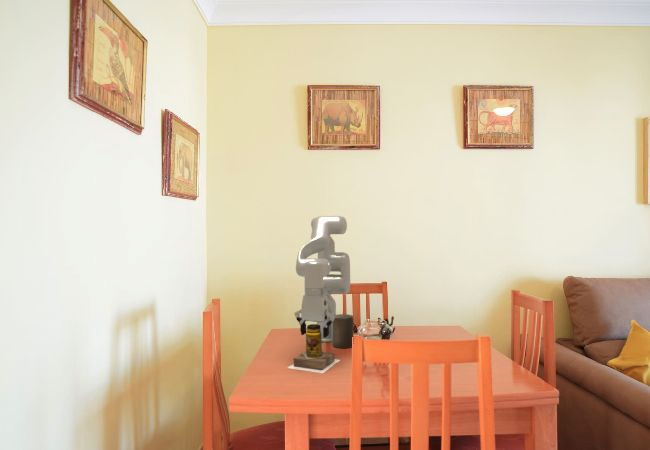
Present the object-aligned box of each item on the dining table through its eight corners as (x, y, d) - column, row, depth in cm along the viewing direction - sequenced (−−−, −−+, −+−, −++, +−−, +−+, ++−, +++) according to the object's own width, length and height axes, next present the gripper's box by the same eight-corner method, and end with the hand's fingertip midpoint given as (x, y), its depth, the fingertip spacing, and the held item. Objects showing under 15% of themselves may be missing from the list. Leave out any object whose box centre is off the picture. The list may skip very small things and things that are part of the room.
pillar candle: (354, 348, 183) (353, 315, 183) (332, 348, 183) (332, 315, 184) (353, 343, 193) (352, 311, 193) (332, 343, 193) (332, 311, 193)
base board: (307, 357, 170) (307, 355, 170) (340, 361, 164) (340, 359, 164) (287, 369, 155) (287, 367, 155) (322, 375, 149) (322, 373, 149)
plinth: (307, 357, 167) (307, 350, 168) (334, 361, 162) (334, 353, 163) (293, 366, 157) (293, 358, 157) (321, 370, 152) (321, 362, 152)
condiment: (308, 359, 155) (307, 328, 155) (301, 353, 163) (301, 323, 163) (326, 357, 158) (325, 326, 158) (318, 351, 166) (318, 321, 166)
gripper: (338, 292, 160) (338, 335, 160) (299, 289, 167) (299, 330, 167) (330, 295, 153) (330, 340, 153) (290, 292, 160) (290, 335, 161)
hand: (314, 335), depth 160 cm, fingers open, 9 cm apart
